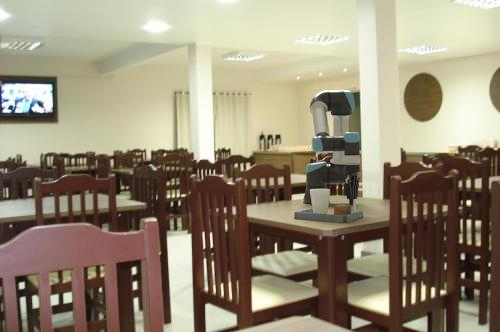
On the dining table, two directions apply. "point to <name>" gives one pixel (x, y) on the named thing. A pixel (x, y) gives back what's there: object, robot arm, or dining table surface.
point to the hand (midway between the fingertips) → (352, 212)
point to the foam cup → (320, 200)
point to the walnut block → (342, 209)
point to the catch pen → (327, 216)
